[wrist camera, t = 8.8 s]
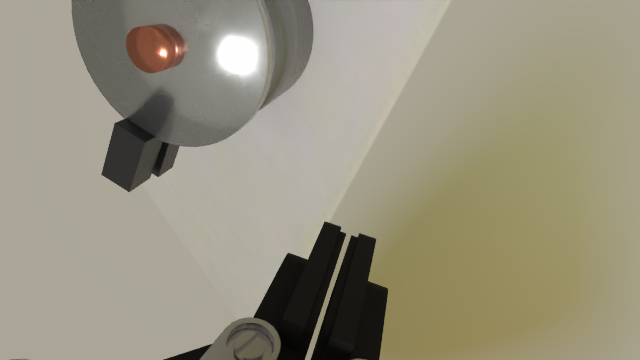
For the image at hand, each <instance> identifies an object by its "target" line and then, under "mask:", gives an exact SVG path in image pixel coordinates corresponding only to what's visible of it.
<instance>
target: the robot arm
mask: <svg viewBox="0 0 640 360" xmlns="http://www.w3.org/2000/svg"><path fill="white" fill-rule="evenodd" d="M340 230H341V227H340V226H337V225H334V224H331V223H328V222H324V225H323V227H322V229H321V231H320V234H319V236H318V238H317V240H316V243H315V245H314V247H313V249H312V252H311V254H310V256H309V259H308V260H307V259H304V258H301V257H299V256H296V255H293V254H290V253H288V254H287V255H286V257H285V259H284V261H283V262H282V264H281V266H280V268H279V270H278V272H277V274H276V276H275V278H274V279H273V281H272V283H271V285H270V287H269V289H268V291H267V293H266V295H265V296H264V298H263V300H262V302H261V304H260V306H259V308H258V310H257V311H256V313H255V315H254V317H253V318H243V319H239V320H237V321H234V322H232V323H231V324H230V325H229V326H228V327H226V328H225V329H224V331H223V332H222V333H221V334H220V336H219V337H218V338H217V339H216V340H215V342H214V343H213V344H210V345H207V346H204V347H201V348H198V349H195V350H192V351H189V352H186V353H183V354H180V355H177V356H174V357H170V358H168V359H164V360H305V357H306V354H307V351H308V348H309V345H310V342H311V339H312V336H313V333H314V329H315V327H316V324H317V321H318V317H319V315H320V312H321V308H322V306H323V303H324V300H325V297H326V294H327V290H328V288H329V284H330V281H331V278H332V275H333V272H334V269H335V266H336V263H337V260H338V257H339V254H340V251H341V248H342V245H343V242H344V239H345V236H346V234H345V233H343V232H340ZM375 242H376V239H375V238H372V237H369V236H366V235H363V234H359V236H358V237H355V236H351V238H350V241H349V245H348V247H347V250H346V253H345V256H344V259H343V262H342V265H341V268H340V271H339V274H338V277H337V280H336V283H335V286H334V289H333V291H332V294H331V297H330V301H329V304H328V307H327V310H326V313H325V316H324V320H323V323H322V326H321V329H320V332H319V335H318V339H317V342H316V345H315V348H314V351H313V354H312V358H311V360H379V356H380V349H381V341H382V333H383V325H384V317H385V310H386V303H387V295H388V289H387V288H385V287H382V286H380V285H377V284H374V283H371V282H369V281H368V277H369V272H370V267H371V263H372V257H373V253H374V248H375ZM12 360H27V359H12Z"/></svg>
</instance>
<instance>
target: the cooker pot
mask: <svg viewBox="0 0 640 360" xmlns="http://www.w3.org/2000/svg"><path fill="white" fill-rule="evenodd" d="M264 2H265V5H266V7H267V10H268V13H269V16H270V21H271V25H272V29H273V36H274V45H275V63H274V71H273V77H272V81H271V85H270V89H269V91H268V93H267V96H266V98H265V100H264V102H263V104H262V106H261V107H260V109H262V108H263V107H265V106H266V105H267V104H269V103H270V102H272V101H273V100H274V99H276V98H277V97H278V96H280V95H281V94H283V93H284V92H285V91H287V90H288V89H289V88H290V87H291V86H293V85H294V84H295V83H296V81H297V80H298V79H299V77H300V76H301V74H302V73H303V71H304V69H305V67H306V65H307V63H308V60H309V57H310V53H311V50H312V43H313V21H312V14H311V10H310V6H309V3H308V0H264ZM260 109H259V110H260ZM178 149H179V145H173V144H169V143H166V142H162V145H161V148H160V151H159V154H158V157H157V159H156V162H155V165H154V168H153V171H152V174H154V175H156V176H157V177H159V176H161V175H162V174H163V173H165V172H166V171H168V170H169V169H171V168H172V167H173V164H174V161H175V158H176V155H177V152H178Z"/></svg>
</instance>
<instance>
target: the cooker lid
mask: <svg viewBox="0 0 640 360" xmlns="http://www.w3.org/2000/svg"><path fill="white" fill-rule="evenodd" d="M72 17H73V25H74V31H75V35H76V40H77V44H78V47H79V50H80V53H81V56H82V58H83V61H84V63H85V65H86V68H87V70H88V72H89V73H90V75H91V77H92V79H93V81H94V83H95V84H96V86H97V87H98V89H99V90H100V92H101V93H102V95H103V96H104V97H105V98H106V100H107V101H108V102H109V103H110V104H111V106H113V108H114V109H115V110H116V111H117V112H118V113H119V114H120V115H121V116H122V117H123V118H125V119H124V120H121V121H119V122H117V123H115V125H114V129H113V132H112V136H111V140H110V144H109V148H108V152H107V155H106V159H105V163H104V167H103V171H102V175H103V176H105V177H106V178H108V179H109V180H111V181H113V182H114V183H116V184H117V185H119V186H121V187H122V188H124V189H125V190H127V191H128V192H130V191H132V190H133V189H135V188H136V187H137V186H139V185H140V184H142V183H143V182H145V181H146V180H148V179H149V178H150V176H151V174H152V171H153V168H154V165H155V162H156V159H157V157H158V154H159V151H160V148H161V145H162V142H166V143H169V144H173V145H179V146H186V147H198V146H206V145H210V144H214V143H217V142H219V141H222V140H224V139H226V138H228V137H229V136H231V135H232V134H234V133H235V132H237V131H238V130H239V129H241V128H242V127H243V126H244V125H246V124H247V123H248V122H249V121H250V120H251V119H252V118H253V117H254V115H255V114H256V113H257V112H258V111H259V109H260V107H261V106H262V104H263V102H264V100H265V98H266V96H267V93H268V91H269V89H270V85H271V81H272V77H273V71H274V63H275V45H274V36H273V29H272V25H271V21H270V16H269V13H268V10H267V7H266V5H265V2H264V0H72Z"/></svg>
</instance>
